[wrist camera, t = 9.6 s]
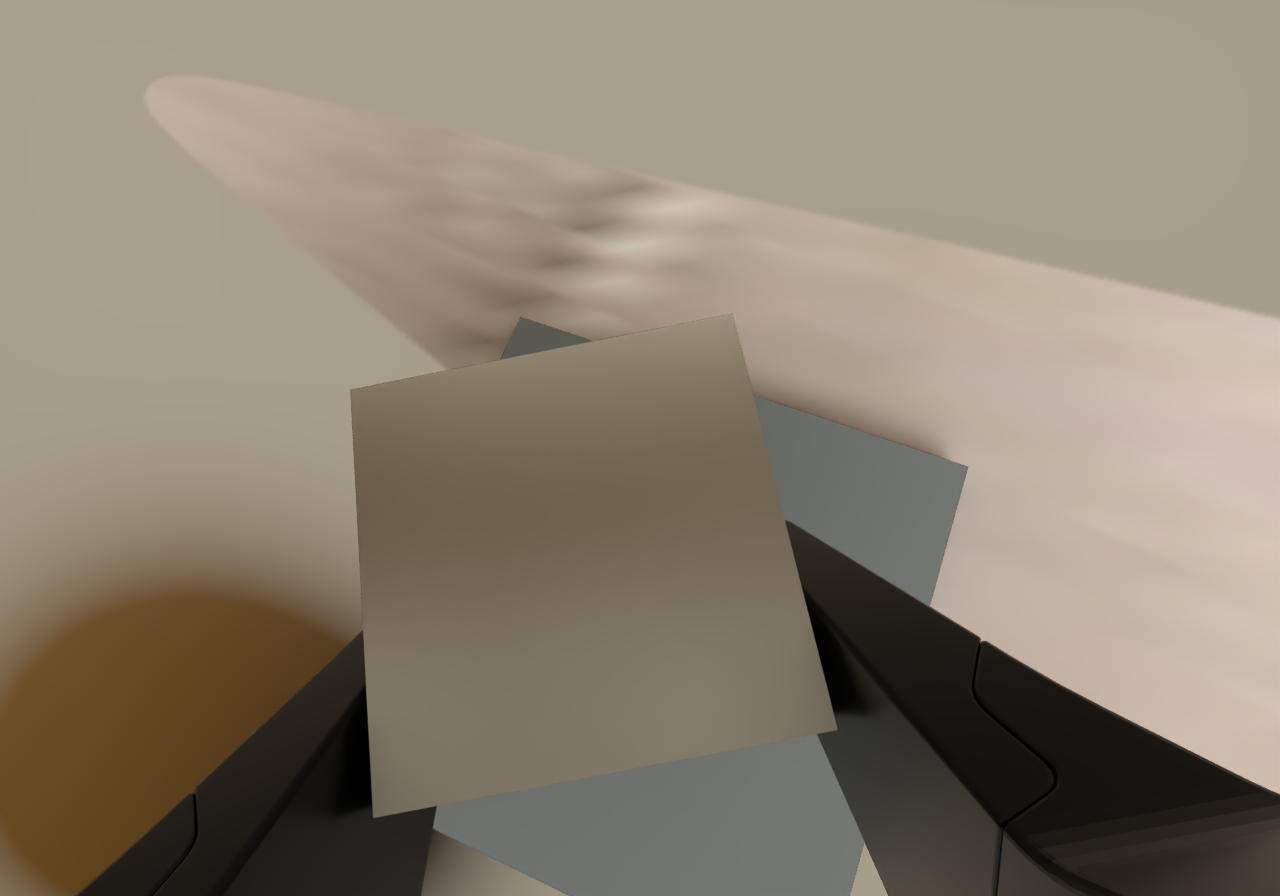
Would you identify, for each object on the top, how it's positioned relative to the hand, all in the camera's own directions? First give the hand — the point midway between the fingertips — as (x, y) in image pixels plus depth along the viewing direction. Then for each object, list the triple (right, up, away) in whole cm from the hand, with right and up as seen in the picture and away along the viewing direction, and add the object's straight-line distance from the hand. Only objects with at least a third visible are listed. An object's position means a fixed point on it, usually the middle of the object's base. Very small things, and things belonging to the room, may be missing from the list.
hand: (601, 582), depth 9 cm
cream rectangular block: (0, -2, +6) cm, 7 cm away
